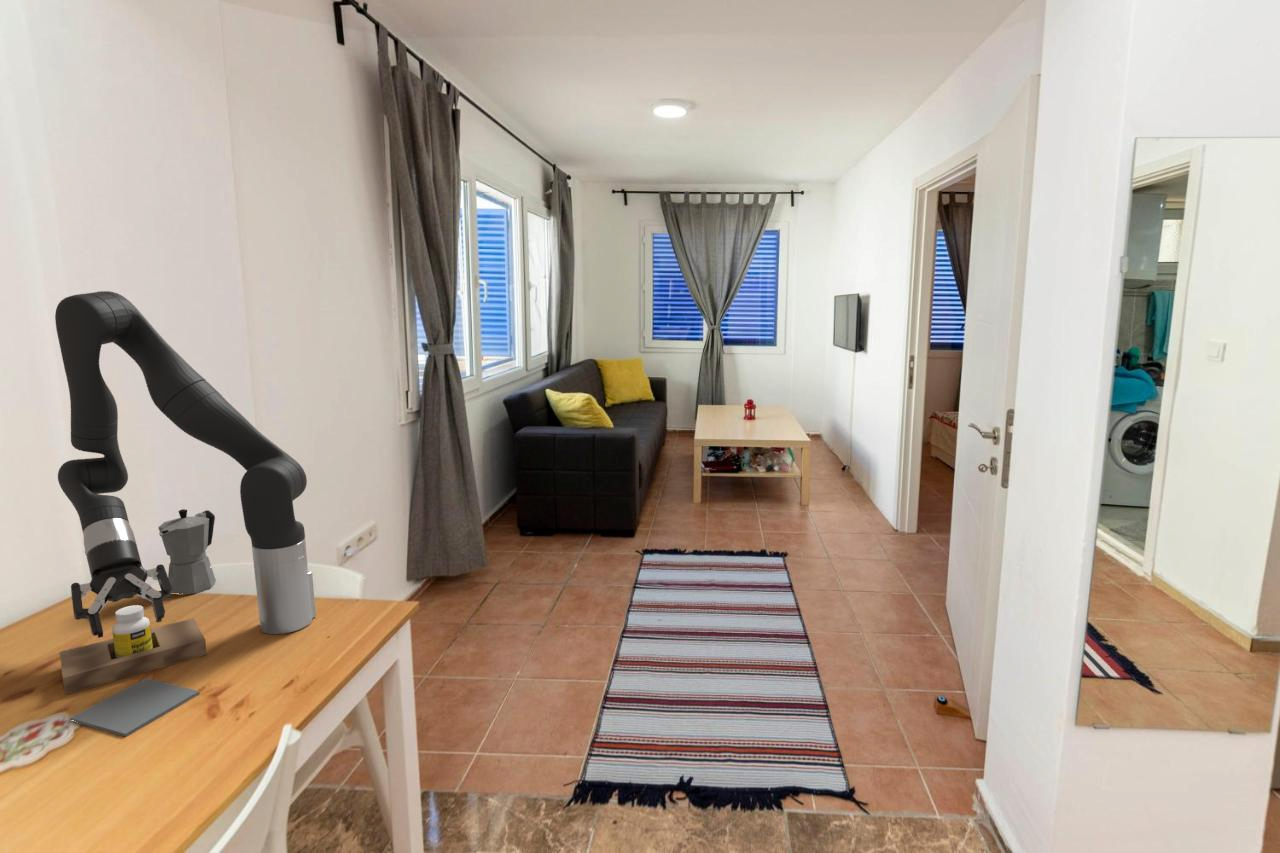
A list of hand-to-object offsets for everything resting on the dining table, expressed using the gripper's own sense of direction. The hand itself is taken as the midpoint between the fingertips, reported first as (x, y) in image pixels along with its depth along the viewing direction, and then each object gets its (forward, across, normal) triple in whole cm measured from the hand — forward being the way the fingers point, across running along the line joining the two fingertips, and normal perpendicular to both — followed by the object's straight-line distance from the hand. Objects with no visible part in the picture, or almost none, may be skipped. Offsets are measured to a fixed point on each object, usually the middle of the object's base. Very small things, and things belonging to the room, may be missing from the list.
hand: (130, 627), depth 124 cm
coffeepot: (-17, +16, +26) cm, 35 cm away
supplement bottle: (+5, 0, +4) cm, 7 cm away
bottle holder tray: (+5, 0, +4) cm, 6 cm away
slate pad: (+17, -2, -8) cm, 18 cm away
